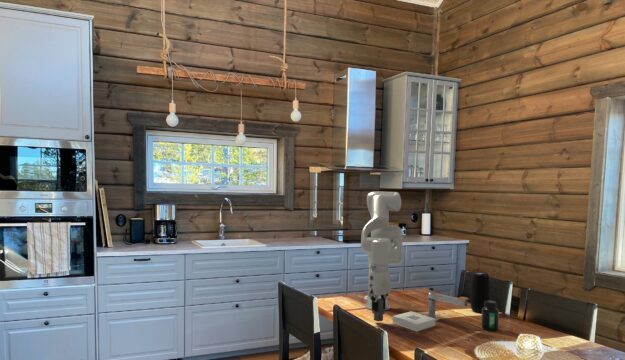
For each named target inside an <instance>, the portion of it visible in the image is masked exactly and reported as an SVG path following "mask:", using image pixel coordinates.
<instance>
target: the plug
mask: <svg viewBox="0 0 625 360" xmlns="http://www.w3.org/2000/svg"><path fill="white" fill-rule="evenodd" d="M377 302H378V311H374V310H371V313H372V314H373V321H375V322H383V320H384V315H385V314H386V310H383V299H382V298H378V299H377Z"/></svg>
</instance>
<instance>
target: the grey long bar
mask: <svg viewBox="0 0 625 360" xmlns="http://www.w3.org/2000/svg"><path fill="white" fill-rule="evenodd" d="M427 294H428V296H427V298H428V300H429V299H434V300H436V301H439V302H443V303H447V304H452V305H456V306H460V307H467V306H468V301H469V300H470V297H467V296H459V297H457V296H456V297H455V296H452V295H447V294H442V293H439V292H435V291H428V292H427Z"/></svg>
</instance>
